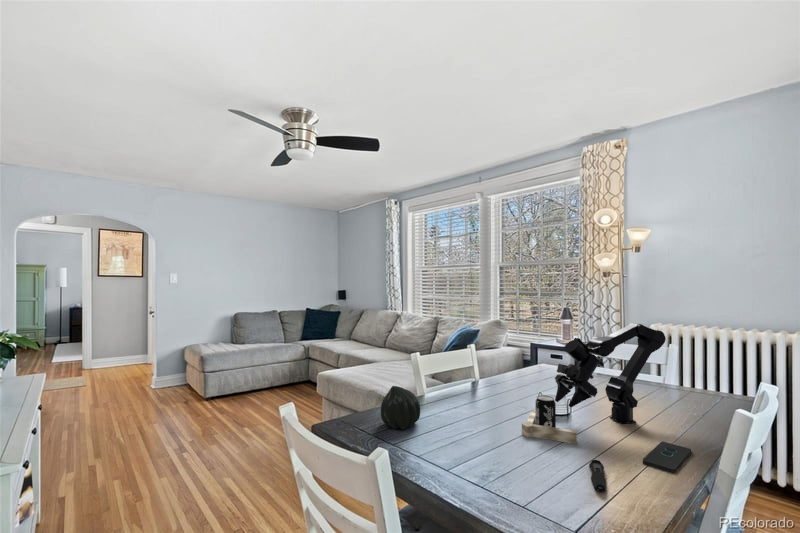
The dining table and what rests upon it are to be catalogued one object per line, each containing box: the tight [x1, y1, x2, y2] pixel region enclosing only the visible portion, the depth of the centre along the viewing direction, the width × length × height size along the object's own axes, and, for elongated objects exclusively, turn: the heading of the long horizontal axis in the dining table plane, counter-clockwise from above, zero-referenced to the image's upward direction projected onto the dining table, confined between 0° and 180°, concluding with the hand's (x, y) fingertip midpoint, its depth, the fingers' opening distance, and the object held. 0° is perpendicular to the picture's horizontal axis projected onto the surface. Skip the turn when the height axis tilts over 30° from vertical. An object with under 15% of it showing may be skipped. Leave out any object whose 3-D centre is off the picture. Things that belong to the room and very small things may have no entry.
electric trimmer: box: [588, 459, 607, 493], centre depth 105 cm, size 4×16×3 cm, turn 157°
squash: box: [380, 385, 421, 430], centre depth 144 cm, size 14×15×15 cm
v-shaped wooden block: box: [521, 410, 578, 445], centre depth 137 cm, size 13×23×4 cm, turn 19°
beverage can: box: [535, 394, 557, 428], centre depth 137 cm, size 7×7×12 cm
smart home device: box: [642, 440, 692, 474], centre depth 118 cm, size 8×2×20 cm
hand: (562, 403), depth 142 cm, fingers open, 9 cm apart
